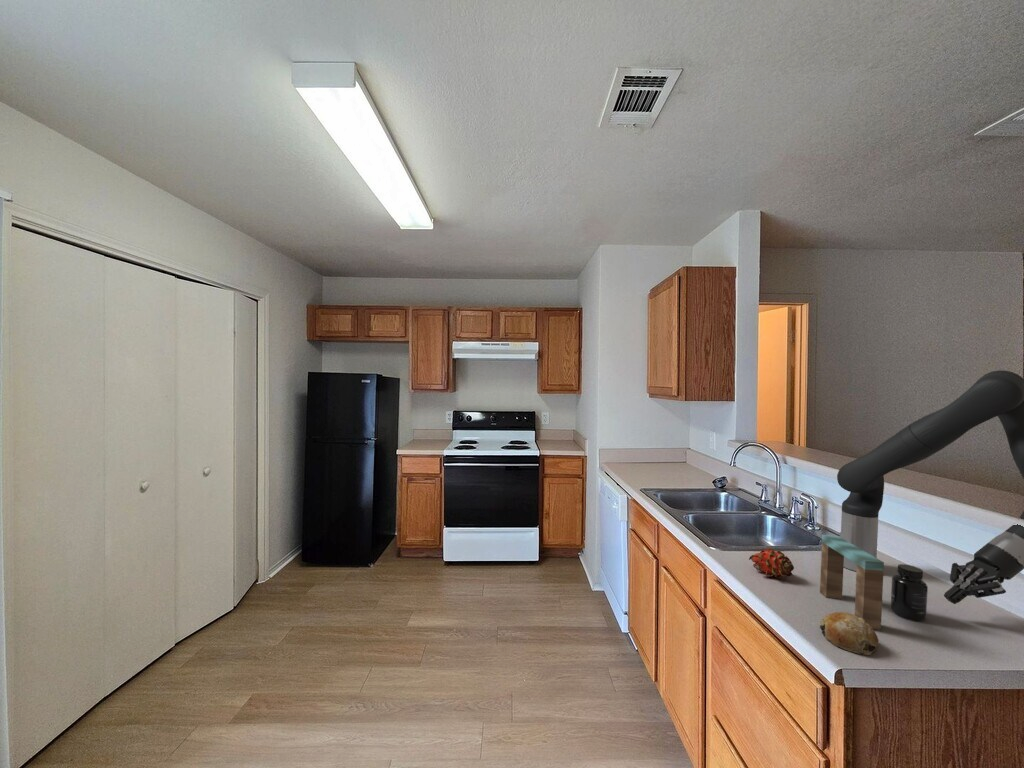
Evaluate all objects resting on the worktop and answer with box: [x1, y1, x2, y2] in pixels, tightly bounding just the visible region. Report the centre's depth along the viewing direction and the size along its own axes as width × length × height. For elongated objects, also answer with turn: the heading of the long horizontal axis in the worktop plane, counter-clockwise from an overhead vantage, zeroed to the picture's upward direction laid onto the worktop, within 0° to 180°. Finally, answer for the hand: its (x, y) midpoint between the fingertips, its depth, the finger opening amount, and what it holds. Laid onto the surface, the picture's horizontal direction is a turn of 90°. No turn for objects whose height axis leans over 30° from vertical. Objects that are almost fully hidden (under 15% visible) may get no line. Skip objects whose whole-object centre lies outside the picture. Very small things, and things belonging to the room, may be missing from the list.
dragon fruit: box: [748, 547, 795, 579], centre depth 134 cm, size 8×8×12 cm
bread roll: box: [818, 611, 879, 656], centre depth 100 cm, size 10×10×8 cm
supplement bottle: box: [890, 563, 929, 622], centre depth 113 cm, size 7×7×12 cm
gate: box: [819, 534, 885, 631], centre depth 115 cm, size 18×4×16 cm, turn 173°
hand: (948, 600), depth 112 cm, fingers closed
